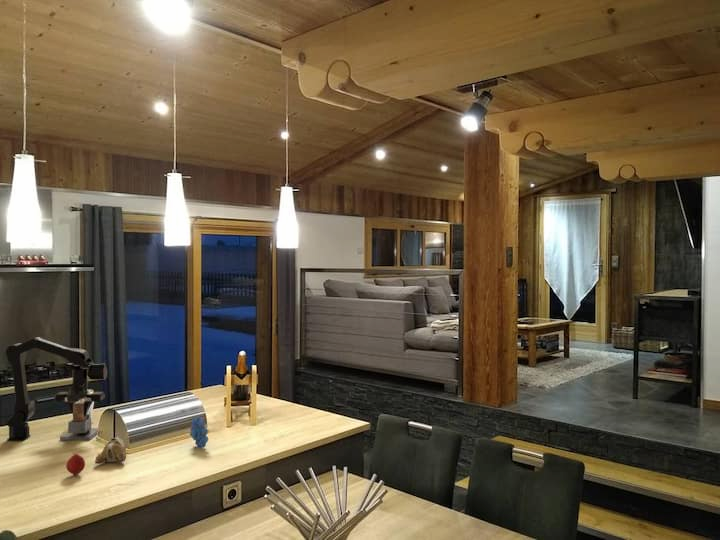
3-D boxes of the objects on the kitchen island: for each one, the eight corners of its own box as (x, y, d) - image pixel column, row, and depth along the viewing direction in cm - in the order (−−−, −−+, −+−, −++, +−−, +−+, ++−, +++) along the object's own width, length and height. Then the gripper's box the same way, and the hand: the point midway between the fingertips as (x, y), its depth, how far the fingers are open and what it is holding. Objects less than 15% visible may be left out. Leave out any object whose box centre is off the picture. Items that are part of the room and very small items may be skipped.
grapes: (182, 445, 237) (182, 416, 236) (197, 441, 241) (198, 413, 241) (196, 452, 228) (196, 422, 228) (212, 448, 233) (212, 419, 233)
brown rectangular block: (72, 425, 244) (72, 403, 243) (76, 422, 248) (76, 401, 247) (82, 425, 244) (83, 403, 244) (86, 422, 248) (87, 401, 248)
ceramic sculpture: (131, 431, 226) (123, 445, 211) (132, 452, 227) (124, 468, 212) (102, 432, 224) (92, 447, 209) (103, 454, 225) (93, 470, 210)
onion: (80, 470, 207) (80, 448, 207) (87, 474, 204) (87, 452, 204) (63, 475, 203) (63, 453, 203) (71, 479, 199) (71, 456, 199)
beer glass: (77, 422, 266) (77, 390, 266) (93, 420, 269) (94, 388, 269) (76, 426, 260) (77, 393, 260) (94, 424, 263) (94, 392, 262)
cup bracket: (60, 440, 241) (60, 420, 240) (72, 431, 252) (72, 412, 252) (89, 440, 241) (89, 419, 241) (100, 431, 253) (100, 412, 253)
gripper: (48, 384, 237) (48, 422, 237) (95, 384, 238) (95, 422, 238) (60, 378, 248) (60, 414, 248) (105, 378, 249) (105, 414, 250)
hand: (79, 416), depth 246 cm, fingers closed on brown rectangular block, 4 cm apart
